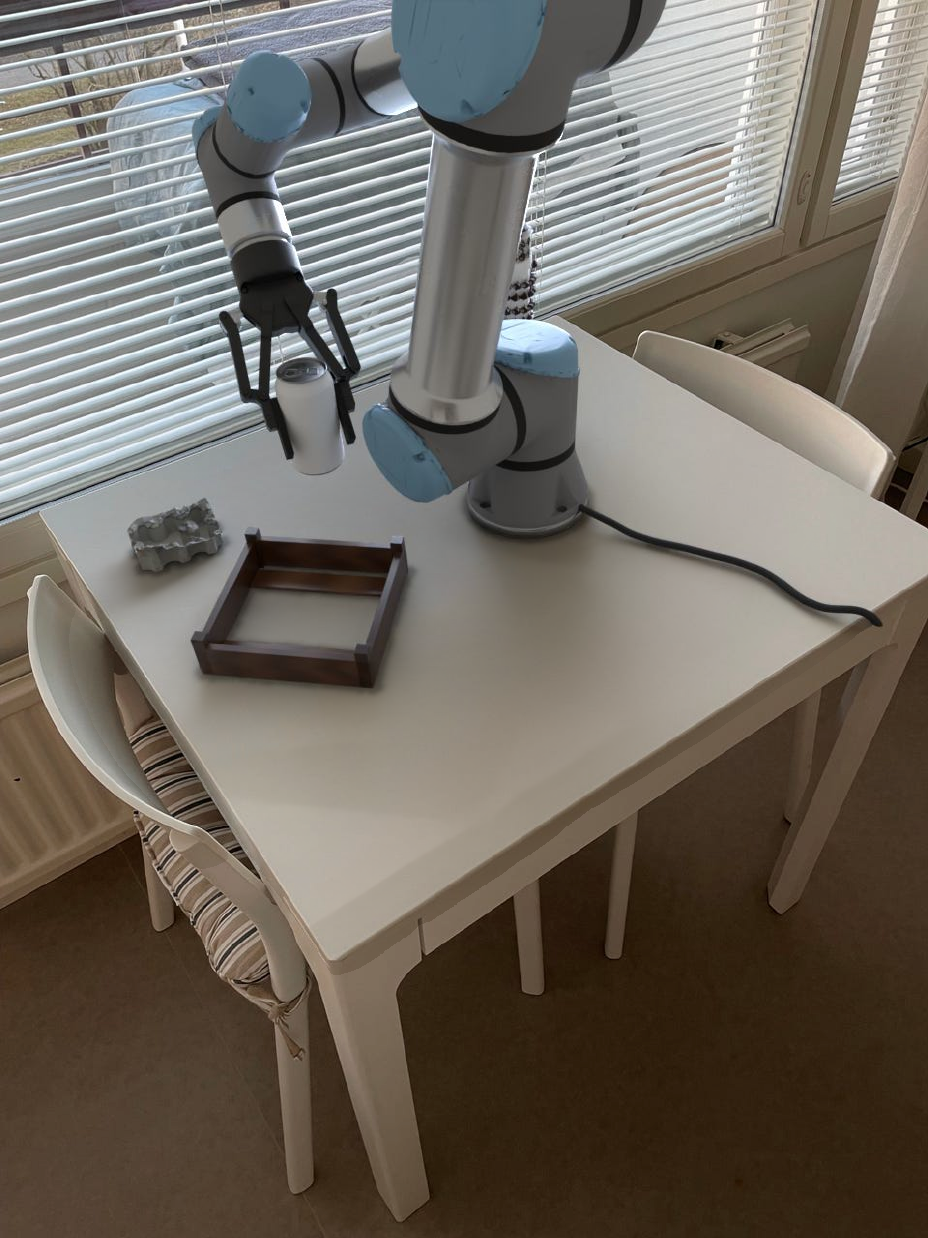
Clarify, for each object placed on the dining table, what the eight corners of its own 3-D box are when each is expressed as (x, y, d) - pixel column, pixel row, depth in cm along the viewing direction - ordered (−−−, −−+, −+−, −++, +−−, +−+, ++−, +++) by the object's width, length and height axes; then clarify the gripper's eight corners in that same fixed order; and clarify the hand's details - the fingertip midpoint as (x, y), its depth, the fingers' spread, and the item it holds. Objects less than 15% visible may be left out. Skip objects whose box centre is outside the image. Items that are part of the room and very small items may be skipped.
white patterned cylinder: (487, 370, 143) (481, 202, 125) (544, 380, 140) (546, 209, 122) (464, 400, 137) (454, 228, 119) (523, 411, 134) (522, 236, 117)
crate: (408, 570, 110) (404, 536, 107) (373, 688, 97) (366, 654, 94) (256, 560, 113) (247, 526, 110) (202, 674, 100) (190, 640, 96)
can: (292, 447, 113) (273, 357, 104) (345, 443, 113) (331, 352, 104) (289, 479, 108) (269, 387, 100) (345, 474, 108) (330, 382, 100)
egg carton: (142, 578, 112) (131, 552, 109) (131, 542, 117) (121, 516, 114) (228, 551, 115) (220, 525, 112) (215, 517, 120) (207, 492, 117)
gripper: (341, 250, 111) (397, 436, 111) (177, 283, 106) (236, 477, 107) (347, 220, 104) (408, 419, 104) (172, 254, 99) (235, 462, 99)
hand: (321, 448), depth 105 cm, fingers closed on can, 6 cm apart
